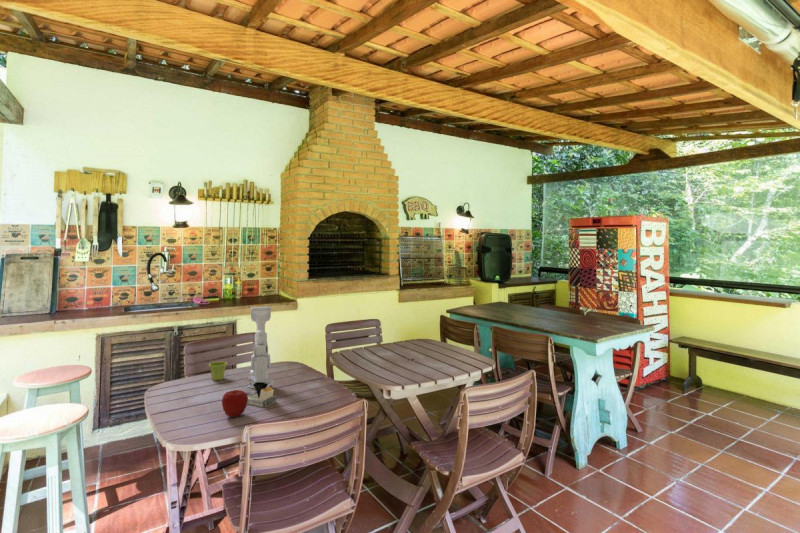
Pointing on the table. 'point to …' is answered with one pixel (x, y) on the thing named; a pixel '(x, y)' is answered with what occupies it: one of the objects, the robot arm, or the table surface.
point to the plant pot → (217, 370)
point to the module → (266, 393)
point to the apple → (234, 402)
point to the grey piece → (256, 402)
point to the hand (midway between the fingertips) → (260, 397)
